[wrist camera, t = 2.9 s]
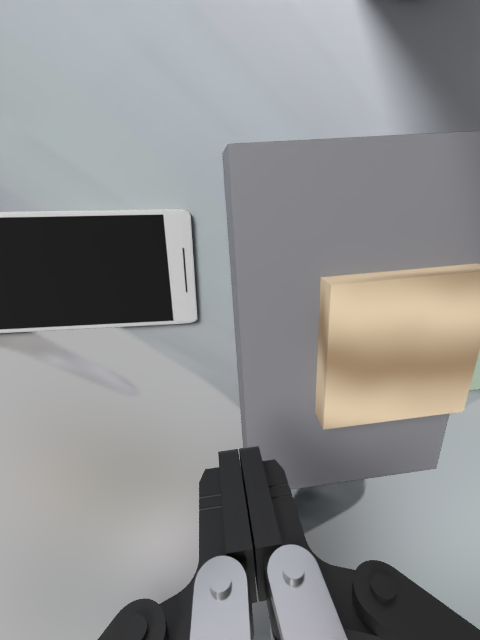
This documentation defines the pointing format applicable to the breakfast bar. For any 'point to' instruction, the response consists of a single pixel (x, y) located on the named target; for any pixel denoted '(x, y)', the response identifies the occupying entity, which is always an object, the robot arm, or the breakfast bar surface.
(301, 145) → the gray rectangular box
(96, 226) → the smartphone
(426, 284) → the cork coaster
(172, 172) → the breakfast bar surface
